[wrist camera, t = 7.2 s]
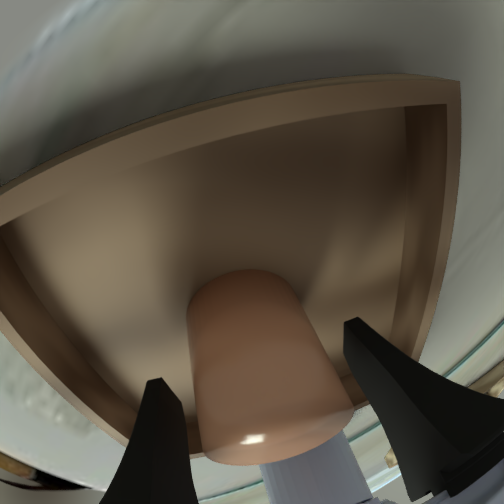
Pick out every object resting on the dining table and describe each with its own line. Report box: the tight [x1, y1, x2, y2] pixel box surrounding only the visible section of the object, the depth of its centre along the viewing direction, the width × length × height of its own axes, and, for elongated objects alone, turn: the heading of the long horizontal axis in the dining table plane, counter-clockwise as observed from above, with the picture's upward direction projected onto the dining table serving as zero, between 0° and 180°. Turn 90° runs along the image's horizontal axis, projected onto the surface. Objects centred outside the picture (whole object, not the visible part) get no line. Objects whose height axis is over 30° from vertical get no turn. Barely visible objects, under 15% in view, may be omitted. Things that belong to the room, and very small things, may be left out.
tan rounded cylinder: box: [186, 269, 354, 466], centre depth 11 cm, size 5×5×6 cm
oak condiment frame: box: [384, 360, 504, 469], centre depth 37 cm, size 17×27×2 cm, turn 102°
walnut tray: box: [0, 74, 461, 459], centre depth 13 cm, size 18×18×3 cm
